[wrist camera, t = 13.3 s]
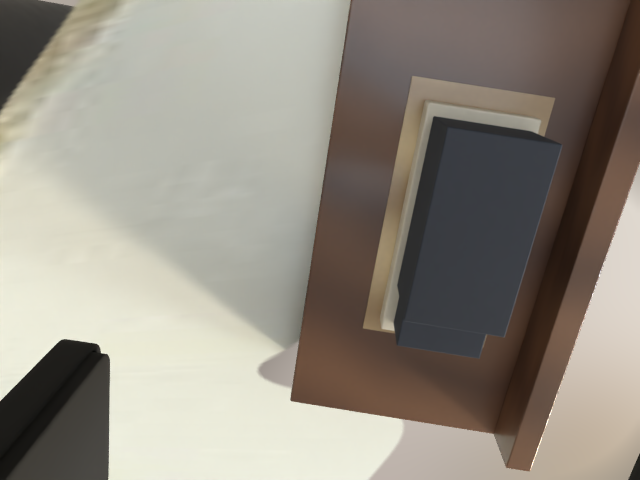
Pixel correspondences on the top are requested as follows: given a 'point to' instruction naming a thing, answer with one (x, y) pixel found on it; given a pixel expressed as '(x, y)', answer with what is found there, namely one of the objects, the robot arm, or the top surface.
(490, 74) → the wooden bench
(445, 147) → the stepped dark grey block
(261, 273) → the top surface
